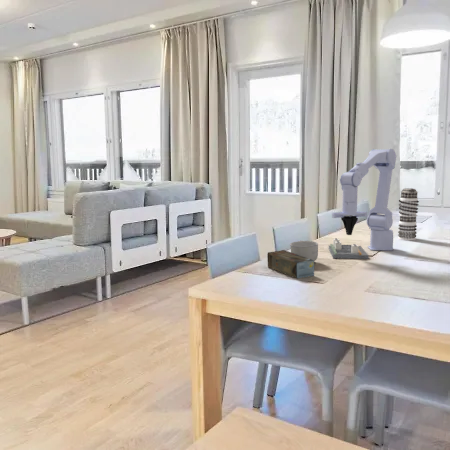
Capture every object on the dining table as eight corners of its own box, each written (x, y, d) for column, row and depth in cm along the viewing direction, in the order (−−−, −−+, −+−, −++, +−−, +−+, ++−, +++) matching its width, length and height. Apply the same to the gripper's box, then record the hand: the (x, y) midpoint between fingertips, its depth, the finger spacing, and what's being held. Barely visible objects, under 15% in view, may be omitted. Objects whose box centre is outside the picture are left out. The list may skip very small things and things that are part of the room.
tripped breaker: (356, 252, 192) (357, 244, 191) (358, 253, 188) (358, 245, 188) (351, 251, 192) (351, 243, 192) (352, 253, 189) (352, 245, 188)
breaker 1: (338, 245, 205) (338, 238, 205) (339, 247, 202) (339, 239, 201) (333, 245, 206) (333, 238, 205) (333, 247, 202) (334, 239, 202)
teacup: (317, 266, 175) (318, 245, 174) (289, 265, 177) (289, 245, 176) (317, 258, 189) (318, 239, 187) (291, 257, 191) (291, 238, 190)
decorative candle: (411, 241, 224) (414, 189, 220) (393, 238, 231) (395, 188, 227) (420, 238, 230) (423, 188, 226) (402, 236, 237) (405, 187, 233)
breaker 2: (340, 248, 199) (340, 241, 199) (341, 250, 196) (341, 242, 195) (334, 248, 199) (334, 240, 199) (335, 250, 196) (335, 242, 195)
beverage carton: (296, 279, 158) (296, 260, 157) (266, 268, 175) (266, 250, 174) (315, 276, 161) (315, 258, 160) (283, 265, 178) (283, 248, 177)
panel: (360, 249, 206) (360, 244, 206) (368, 259, 186) (368, 253, 186) (328, 248, 208) (328, 243, 208) (333, 258, 188) (333, 252, 188)
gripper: (361, 200, 193) (360, 232, 195) (329, 201, 190) (328, 233, 192) (370, 201, 186) (368, 235, 188) (336, 203, 183) (335, 236, 185)
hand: (349, 234), depth 190 cm, fingers closed
